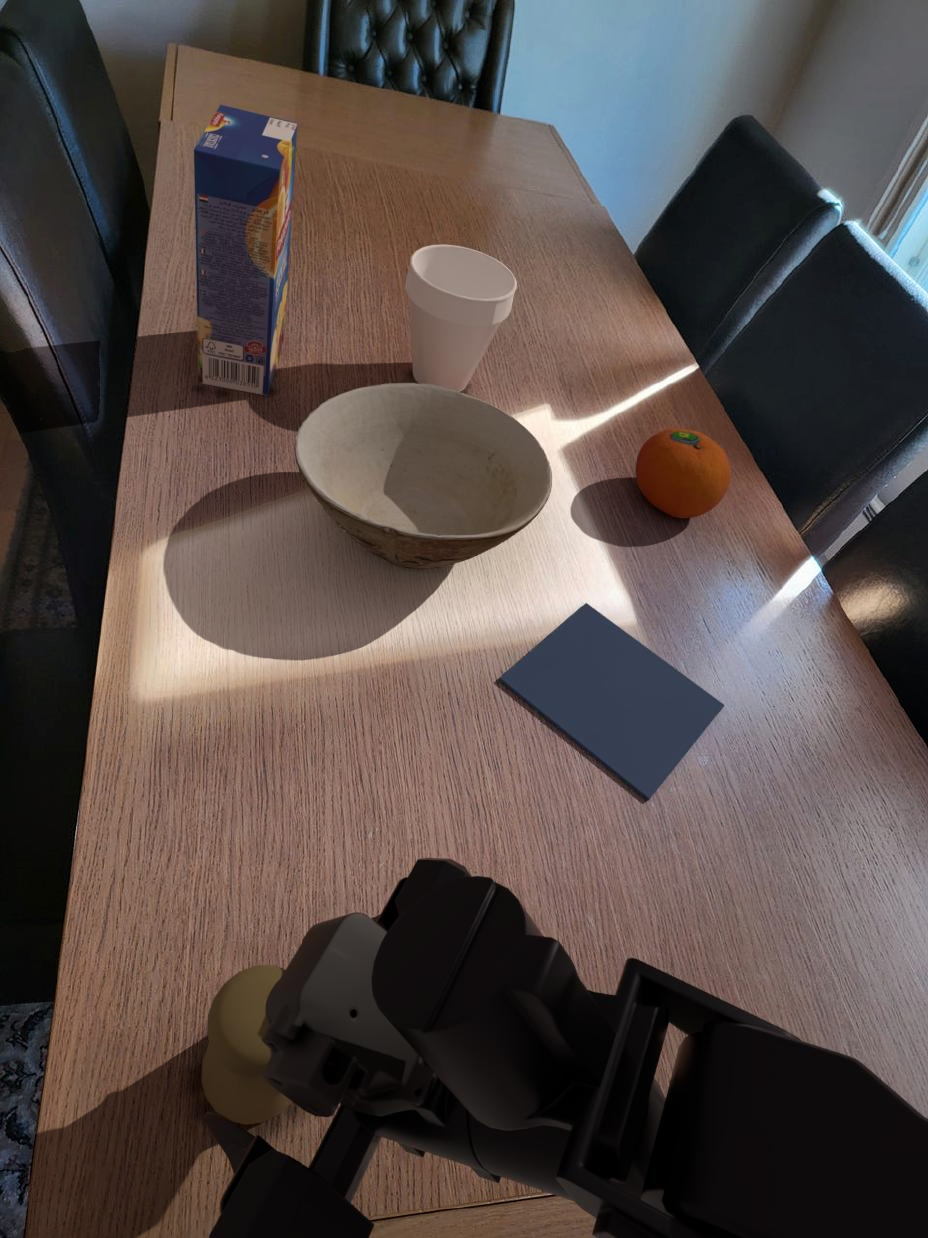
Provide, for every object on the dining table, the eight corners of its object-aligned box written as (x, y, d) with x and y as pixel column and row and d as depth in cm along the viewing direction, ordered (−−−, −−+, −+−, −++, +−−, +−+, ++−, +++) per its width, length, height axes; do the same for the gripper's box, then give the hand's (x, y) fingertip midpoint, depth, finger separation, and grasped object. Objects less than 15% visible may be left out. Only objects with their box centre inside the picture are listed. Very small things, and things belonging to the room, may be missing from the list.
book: (723, 707, 76) (724, 705, 76) (647, 801, 67) (649, 799, 67) (584, 605, 81) (586, 602, 80) (498, 680, 72) (499, 677, 72)
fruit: (728, 521, 95) (762, 466, 89) (663, 540, 90) (694, 484, 84) (670, 463, 100) (699, 408, 94) (606, 478, 95) (631, 421, 89)
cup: (448, 342, 107) (472, 238, 97) (508, 395, 102) (539, 291, 92) (370, 359, 101) (387, 249, 91) (430, 417, 96) (454, 307, 86)
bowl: (263, 459, 84) (267, 375, 77) (473, 445, 94) (494, 369, 87) (325, 635, 71) (338, 552, 64) (562, 598, 81) (597, 522, 73)
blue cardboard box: (267, 396, 91) (279, 169, 74) (198, 383, 90) (193, 149, 73) (283, 339, 99) (297, 122, 82) (220, 326, 98) (220, 103, 81)
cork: (255, 990, 52) (261, 923, 44) (327, 1057, 50) (348, 1001, 42) (178, 1074, 48) (170, 1018, 40) (254, 1150, 46) (261, 1107, 38)
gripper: (508, 782, 36) (278, 787, 46) (263, 1268, 24) (17, 1137, 33) (608, 937, 41) (381, 913, 51) (448, 1411, 29) (186, 1260, 38)
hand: (265, 1029), depth 43 cm, fingers open, 9 cm apart
